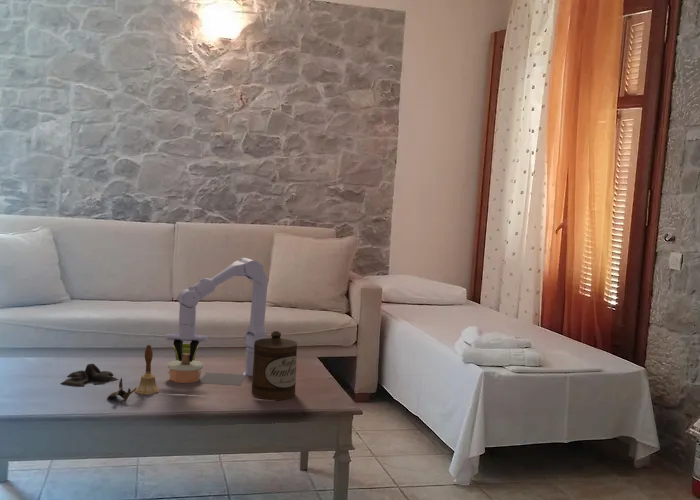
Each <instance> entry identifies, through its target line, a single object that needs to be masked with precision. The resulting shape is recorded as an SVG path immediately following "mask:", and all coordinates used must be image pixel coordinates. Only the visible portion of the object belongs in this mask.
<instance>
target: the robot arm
mask: <svg viewBox="0 0 700 500" xmlns="http://www.w3.org/2000/svg"><path fill="white" fill-rule="evenodd" d="M234 277H246V278H247V279H248V280H249V281H250V282H251V283H252V293H251V295H252V296H251V304H250V305H251V306H250V320H249V325H248V326H247V327H246V333H245V335H244V336H243V343H244V345H245V346H246V348H245V363H244V364H245V365H244V371H243V374H242V375H246V376H250V377H251V376H252V375H253V362H254V344H255V341H256V340H259V339H265V338H268V337H267V336H268V335H267V333H268V332H267V330H266V328H265V322H266V321H265V320H266V319H265V318H266V306H267V294H268V283H269V282H268V281H269V280H268V276H267V274H266V273H265V270H264V265H262V263H260V262H259V261H258V260H256V259H250V258H249V257H241V258H240V259H238V260H235V261H233V263H231V264H230V265H228V266H227V267H225V268H224V269H223V270H221V271H220V272H218V273H217V274H216V275H214V276H212V277H211V278H210V277H209V278H208V277H205V278H204V277H202V278H200V279H199V282H197V283H195V284H194V285H190V286H188V289H187V288H185V289H182V290H181V291H180V292H179V294H178V296H177V297H176V299H177V301H178V303H179V311H178V312H179V313H178V315H179V316H178V333H167V334H165V341H173V346H175V348H176V351H177V354H178V358H179V361H181V354H182V346H183V344H184V342H189V344H190V362H192V361H193V356H194V353H195V350H196V348H197V346H198V347H199V343H200V342H202V343H208V335H203V334H202V335H200V334H196V316H197V315H196V314H197V313H196V312H197V310H196V309H197V308H196V307H197V305H198V304H199V301H201V300H203V299H204V298H205V297H207V296H209V295H210V294H212V293H214V292H215V291H216V287H218V286H219V285H220V284H223V283H225V282H226V281H229V280H230V279H232V278H234ZM197 349H198V348H197Z"/></svg>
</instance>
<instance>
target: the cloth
mask: <svg viewBox="0 0 700 500" xmlns="http://www.w3.org/2000/svg"><path fill="white" fill-rule="evenodd" d="M113 376H114V374H113V372H111V371H108V370H102V371H101V370H100V368H99V367H98V366H97V365H96V364H95V363H87V365H86V366H85V369H84V370H78V371H73V372H70V373H69V374H68V375H67V376H66V380H64V381H62V382H61V383H60V385H63V386H69V387H70V386H72V387H79V388H84V387H85V385H88V384H89V383H93V386H97V385H98V386H99V385H103V386H104V385H106V383H110V382H111V383H113V382H115V381H119V378H117V377H113Z"/></svg>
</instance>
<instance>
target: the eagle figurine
mask: <svg viewBox="0 0 700 500" xmlns="http://www.w3.org/2000/svg"><path fill="white" fill-rule="evenodd" d="M123 386H124V385H123V378H122V377H121V378H120V379H119V383H118V388H119V389H118V390H117V391H114V392H111V394H109V395H108V396H107V398H114V397H117V396H120V398H122V399H123V400H124V403H125V404H126V403H127V400H128V398H129V397H130V395H132V394H133V393H135V390H136V388H137V387H135V388H134V389H133V390H131V388H130V387H129V388H128V390H127V391H125V390H124V388H123Z"/></svg>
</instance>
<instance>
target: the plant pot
mask: <svg viewBox="0 0 700 500" xmlns="http://www.w3.org/2000/svg"><path fill="white" fill-rule="evenodd" d="M172 348H173V351H174V352H175V353H174V354H175V361H177V360H179V358H178V354H177V351H176V348H175V346H174V345H172ZM198 348H199V345H198V346H197V348H196V350H195V353H194V356H193V360H194V361H196V360H195V359H196V352H197V351H198ZM183 353H188V354H190V343H183V346H182V354H183Z"/></svg>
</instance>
